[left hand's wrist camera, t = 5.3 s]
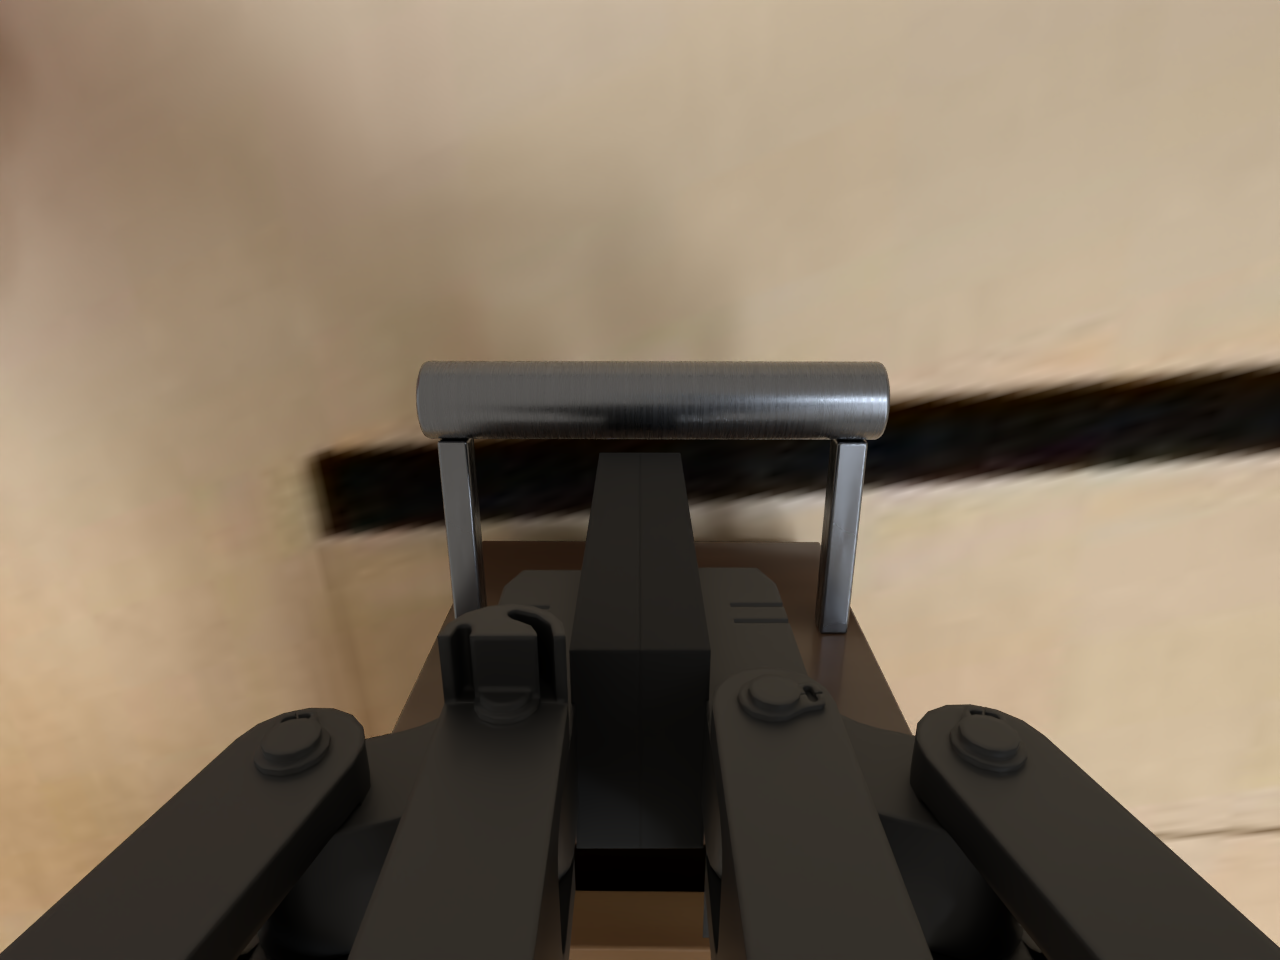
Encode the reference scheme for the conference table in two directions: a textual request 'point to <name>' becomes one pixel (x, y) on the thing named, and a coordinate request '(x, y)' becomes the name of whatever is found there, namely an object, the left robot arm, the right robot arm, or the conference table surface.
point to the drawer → (803, 571)
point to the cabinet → (638, 926)
